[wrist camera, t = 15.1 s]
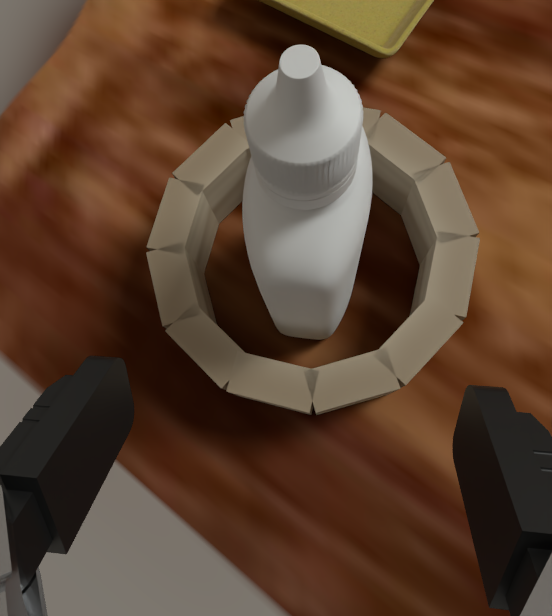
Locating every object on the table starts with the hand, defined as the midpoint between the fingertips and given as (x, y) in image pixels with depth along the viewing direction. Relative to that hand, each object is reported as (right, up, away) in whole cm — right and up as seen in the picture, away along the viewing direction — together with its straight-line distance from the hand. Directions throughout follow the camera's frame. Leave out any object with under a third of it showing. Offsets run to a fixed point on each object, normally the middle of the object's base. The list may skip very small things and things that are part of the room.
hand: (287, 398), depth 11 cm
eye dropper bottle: (+1, +4, +9) cm, 9 cm away
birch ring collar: (+1, +4, +8) cm, 9 cm away
